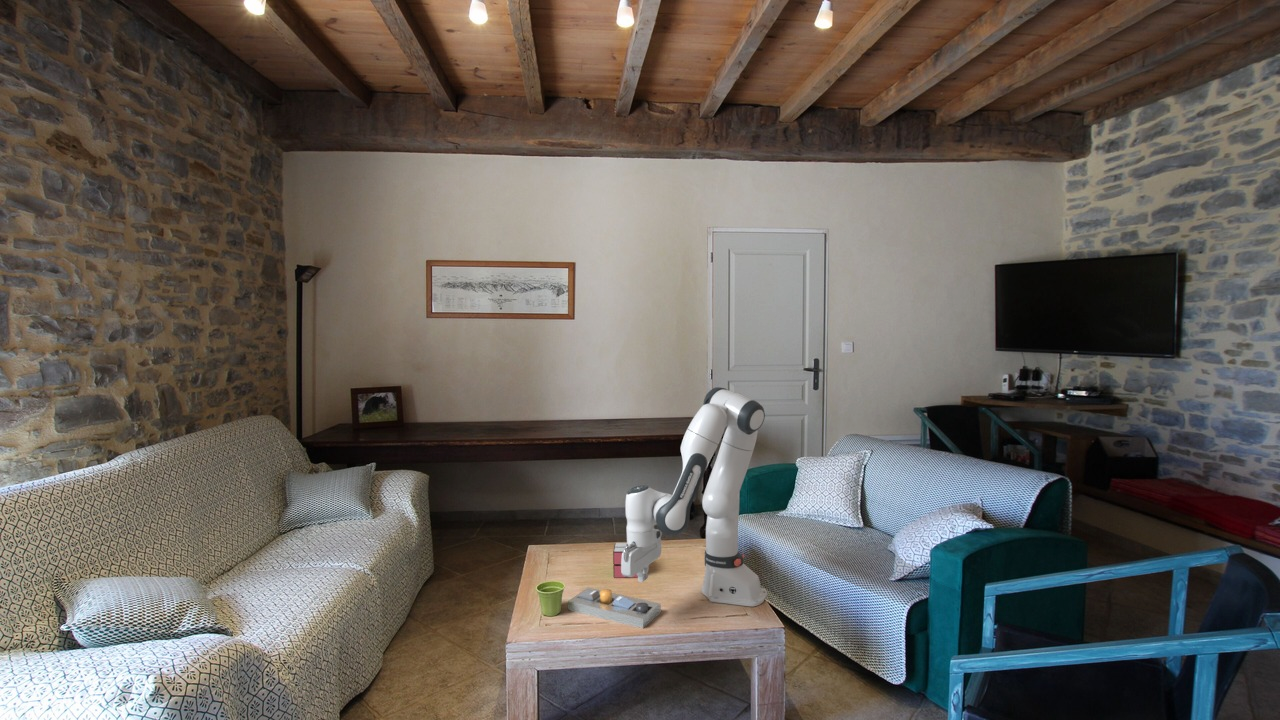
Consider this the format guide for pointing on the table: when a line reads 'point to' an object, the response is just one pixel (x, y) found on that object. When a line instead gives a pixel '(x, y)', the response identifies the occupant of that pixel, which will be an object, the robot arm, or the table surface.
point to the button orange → (606, 596)
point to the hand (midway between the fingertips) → (642, 580)
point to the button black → (642, 607)
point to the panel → (615, 609)
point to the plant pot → (550, 597)
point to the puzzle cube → (619, 560)
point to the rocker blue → (623, 603)
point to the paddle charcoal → (589, 595)
